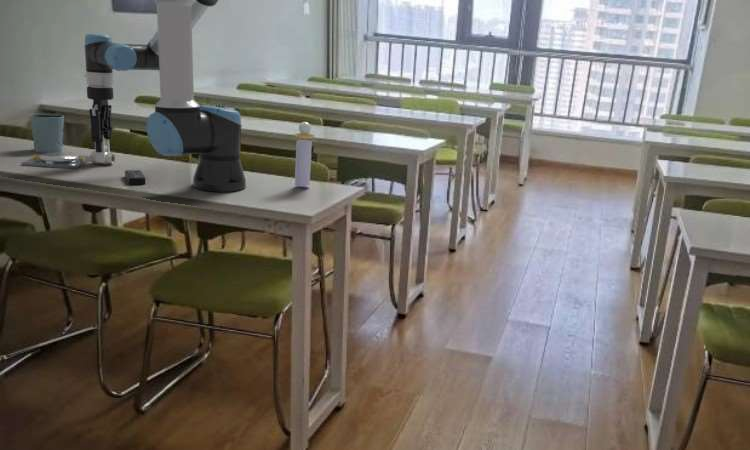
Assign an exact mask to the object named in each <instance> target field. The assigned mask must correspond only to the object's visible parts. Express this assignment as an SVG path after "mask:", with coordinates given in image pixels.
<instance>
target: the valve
mask: <svg viewBox="0 0 750 450" xmlns="http://www.w3.org/2000/svg"><path fill="white" fill-rule="evenodd" d="M109 130H110V131H111V132H112V131H113V126H112V125H111V126H108V127H107V126H103V142H104V143H105V138H104V135H105V134H107V133H109ZM106 131H107V132H106ZM104 146H105V144H104ZM106 150H107V146H105V163H102V162H95V150H92V151H91V152H90V155H89V156H90V160H91V161H90V162H91V163H93V164H99V165H114V163H115V161H116V155H115V153H114V152H111V151H110V152H108V153H107V152H106Z"/></svg>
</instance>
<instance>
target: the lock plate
mask: <svg viewBox="0 0 750 450" xmlns="http://www.w3.org/2000/svg"><path fill="white" fill-rule="evenodd" d="M90 162H91V160H90V155H78V154H76V153H72V152H71V151H64V152H62V151H61V152H56V153H41V154H37V153H35V154H33V155H32V158H29V159H28V160H25V161H22V162H21V166H23V167H24V166H27V167H40V168H41V167H43V168H56V169H57V168H58V169H59V168H60V169H71V170H73V169H75V170H77V169H78V168H80V167H82V166H85V165H86V164H88V163H90Z"/></svg>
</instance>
